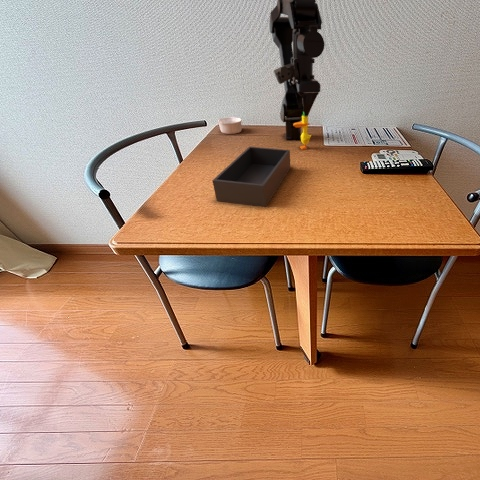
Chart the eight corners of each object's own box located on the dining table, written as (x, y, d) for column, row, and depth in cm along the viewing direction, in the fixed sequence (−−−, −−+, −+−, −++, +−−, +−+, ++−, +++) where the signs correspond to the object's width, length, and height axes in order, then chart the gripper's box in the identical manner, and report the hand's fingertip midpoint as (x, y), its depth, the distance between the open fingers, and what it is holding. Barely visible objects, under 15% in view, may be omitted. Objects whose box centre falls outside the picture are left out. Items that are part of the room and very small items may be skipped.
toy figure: (296, 151, 98) (295, 114, 90) (292, 148, 100) (290, 111, 93) (313, 148, 100) (314, 112, 93) (309, 145, 103) (309, 109, 96)
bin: (251, 164, 88) (249, 146, 85) (290, 168, 87) (289, 150, 83) (216, 201, 70) (212, 180, 66) (265, 206, 68) (263, 185, 65)
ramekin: (223, 127, 117) (221, 116, 114) (245, 128, 117) (243, 117, 114) (216, 134, 110) (214, 122, 107) (240, 135, 110) (238, 123, 107)
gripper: (270, 50, 88) (274, 105, 97) (280, 57, 73) (282, 121, 83) (306, 50, 90) (306, 104, 100) (321, 57, 76) (320, 119, 85)
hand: (303, 111), depth 92 cm, fingers open, 9 cm apart
